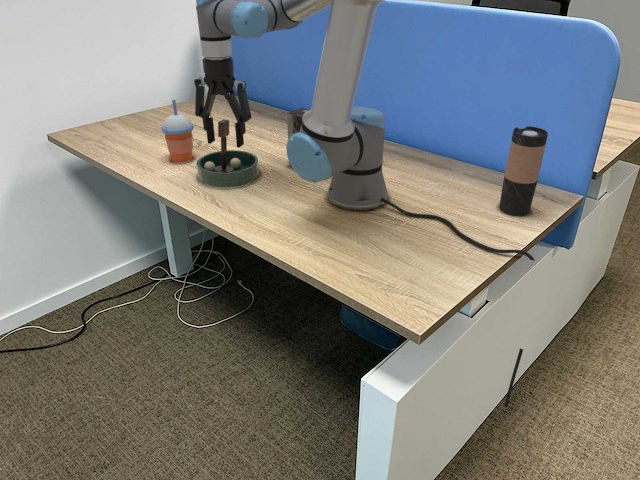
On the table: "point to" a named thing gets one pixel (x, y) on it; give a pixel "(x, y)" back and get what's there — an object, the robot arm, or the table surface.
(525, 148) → the travel mug
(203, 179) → the bowl
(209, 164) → the dumpling
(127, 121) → the table surface
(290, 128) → the coffee box
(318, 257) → the table surface
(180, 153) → the cup with straw
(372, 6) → the robot arm
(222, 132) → the brown handled stamp
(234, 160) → the dumpling
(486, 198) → the table surface
